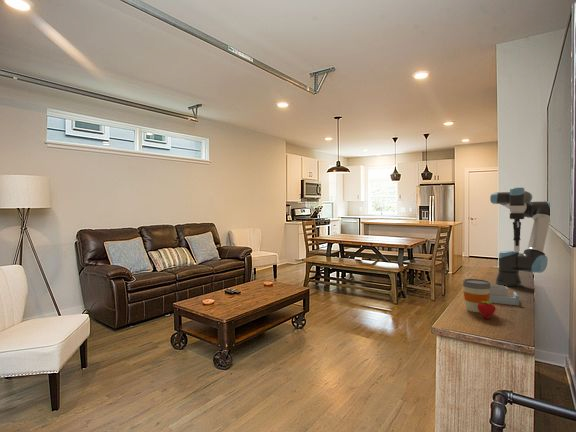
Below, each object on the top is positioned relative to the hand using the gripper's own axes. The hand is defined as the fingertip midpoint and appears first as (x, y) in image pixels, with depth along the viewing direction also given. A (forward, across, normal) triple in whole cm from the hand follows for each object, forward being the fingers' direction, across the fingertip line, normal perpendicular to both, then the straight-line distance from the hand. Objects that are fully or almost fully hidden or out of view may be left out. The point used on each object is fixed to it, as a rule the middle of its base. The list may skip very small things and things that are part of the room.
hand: (516, 250), depth 206 cm
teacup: (+27, +22, -12) cm, 37 cm away
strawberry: (+27, +64, -18) cm, 72 cm away
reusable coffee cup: (+27, +50, -22) cm, 61 cm away
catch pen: (+26, +22, -12) cm, 36 cm away
